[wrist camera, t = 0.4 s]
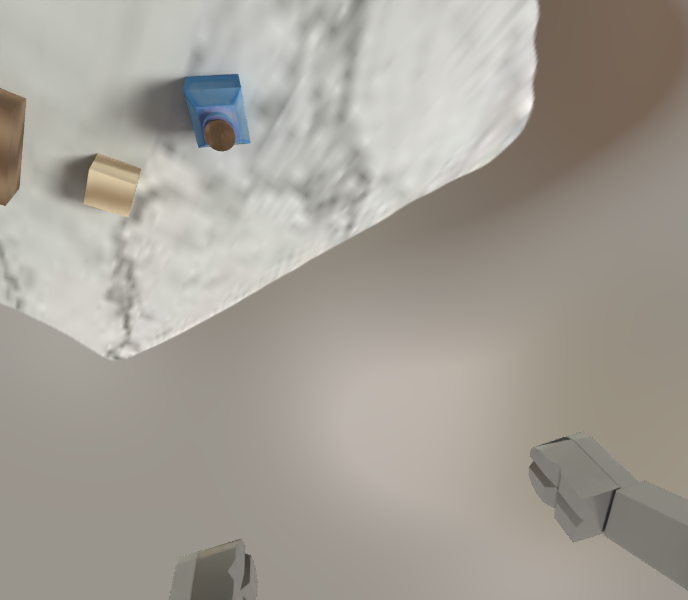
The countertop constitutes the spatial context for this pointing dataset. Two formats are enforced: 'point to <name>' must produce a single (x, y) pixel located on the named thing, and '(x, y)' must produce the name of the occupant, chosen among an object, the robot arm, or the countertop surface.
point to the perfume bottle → (217, 111)
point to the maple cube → (111, 185)
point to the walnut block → (10, 143)
